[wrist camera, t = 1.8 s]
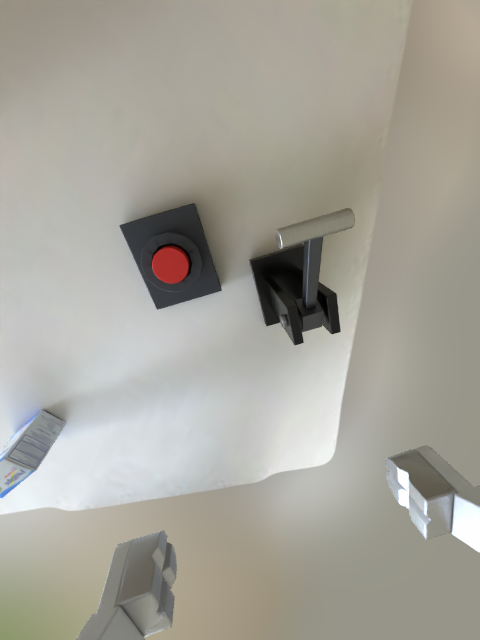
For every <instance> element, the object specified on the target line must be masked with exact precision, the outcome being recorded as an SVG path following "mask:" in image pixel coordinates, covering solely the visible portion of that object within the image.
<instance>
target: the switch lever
mask: <svg viewBox="0 0 480 640" xmlns="http://www.w3.org/2000/svg"><path fill="white" fill-rule="evenodd" d="M354 222H355V218H354V213H353V211H352V210H351V209H350V208H346V209H343V210H340V211H336V212H333V213H330V214H326V215H323V216H319V217H316V218H313V219H309V220H306V221H303V222H299V223H296V224H293V225H289V226H286V227H282V228H279V229H277V230H276V239H277V243H278V246H279V247H280V249H283V248H286V247H289V246H293V245H296V244H299V243H303V242H304V267H303V297H302V298H301V299H297V300H295V304H296V305H297V309H298V314H299V320H300V325H301V330H302V332H305V331H308V330H312V329H315V328H319V327H322V321H323V314H324V310H323V309H322V307H321V305H320V303H319V301H318V300H317V291H318V281H319V271H320V262H321V252H322V242H323V236H326V235H330V234H333V233H336V232H340V231H343V230H347V229H350V228H352V227H353V226H354Z"/></svg>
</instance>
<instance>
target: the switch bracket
mask: <svg viewBox="0 0 480 640" xmlns="http://www.w3.org/2000/svg"><path fill="white" fill-rule="evenodd" d="M249 262H250V266H251V270H252V274H253V278H254V282H255V285H256V289H257V293H258V297H259V301H260V305H261V309H262V313H263V317H264V321H265V324H266V326H269V325H273V324H276V323H279V322H280V323H281V324H282V326H283V328H284V329H285V331H286V332H287V334H288V335H289V337H290V339H291V340H292V342H293V343H294V345H298V344H301V343H304V342H303V336H302V331H301V325H300V320H299V314H298V309H297V305H296V304H295V300H297V299H301V298H302V297H303V267H304V245H303V244H300V245H297V246H294V247H290V248H287V249H284V250H280V251H277V252H273V253H270V254H267V255H263V256H260V257H257V258H253V259H250V260H249ZM317 300H318V301H319V303H320V305H321V307H322V309H323V310H324V314H323V321H322V325H323V326H324V327H325V328H326V329H327V330H328V331H329V332H330V333H331V334H335V333H338V332H340V323H339V314H338V305H337V295H336V293H335V292H333V291H332V290H330V289H329V288H327V287H326V286H324V285H323V284H321V283H320V282H318V291H317Z"/></svg>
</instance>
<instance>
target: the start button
mask: <svg viewBox="0 0 480 640" xmlns="http://www.w3.org/2000/svg"><path fill="white" fill-rule="evenodd" d="M189 265H190V263H189V258H188V256H187V254H186V253H185V252H184V251H183V250H182V249H180V248H178V247H176V246H166V247H163V248H162V249H160V250H159V251H158V252H157V253H156V254H155V255H154V257H153V260H152V268H153V271H154V273H155V275H156V276H157V277H158V278H159V279H160V280H162V281H164V282H166V283H177V282H180V281H182V280H183V279H184V278H185V277H186V275H187V273H188V270H189Z"/></svg>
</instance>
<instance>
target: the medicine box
mask: <svg viewBox="0 0 480 640" xmlns="http://www.w3.org/2000/svg"><path fill="white" fill-rule="evenodd" d="M65 424H66V423H65V422H64V421H62V420H60V419H58V418H57V417H55V416H53V415H51V414H49V413H47V412H45V411H44V410H41V411H40V412H39V413H37V414H36V415H35V416H34V417H33V418H32V419H31V420H30V421H29V422H28V423H26V424H25V425H24V426H23V427H22V428H21V429H20V430H19V431H18V432H17V433H15V434H14V435H13V436H12V438H11V439H10V440H9V441H8V442H7V443H6V445H5V446H4V447H3V448H2V449H1V451H0V498H3V497H4V496H5V495H7V494H8V493H9V492H10V491H11V490H13V489H14V488H15V487H16V486H17V485H19V484H20V483H21V482H22V481H23V480H25V479H26V478H27V477H28V476H29V475H31V474H32V473H33V472H34V471H36V470H37V468H38V467H39V465H40V464H41V462H42V461H43V459H44V458H45V456H46V455H47V453H48V451H49V450H50V448H51V447H52V445H53V443H54V442H55V440H56V439H57V437H58V436H59V434H60V432H61V431H62V429H63V427H64V426H65Z"/></svg>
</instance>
